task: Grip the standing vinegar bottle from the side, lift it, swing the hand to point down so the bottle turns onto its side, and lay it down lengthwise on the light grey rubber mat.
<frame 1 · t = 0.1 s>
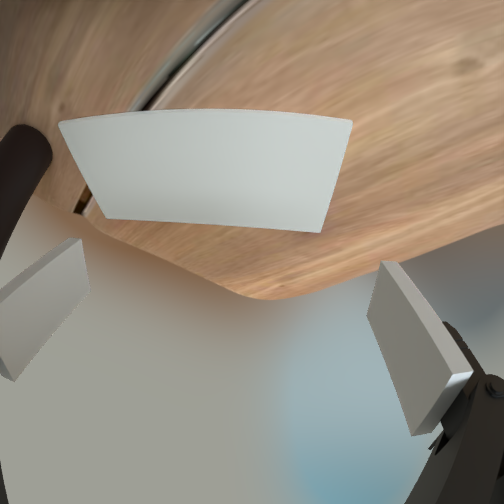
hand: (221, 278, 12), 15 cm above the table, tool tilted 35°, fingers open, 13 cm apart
mat: (197, 173, 28), on the table
vinegar: (31, 144, 25), on the table
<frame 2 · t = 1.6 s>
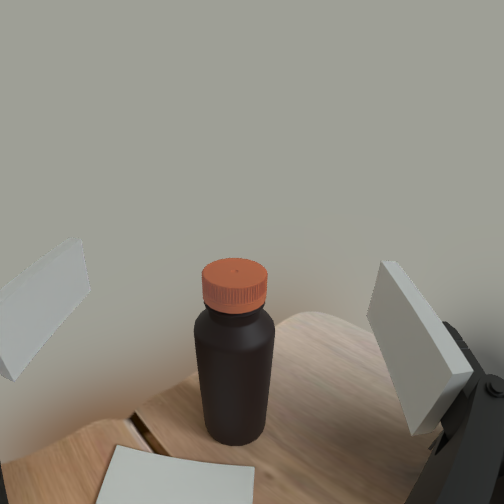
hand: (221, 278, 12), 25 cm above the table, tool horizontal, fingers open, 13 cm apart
vinegar: (235, 424, 31), on the table
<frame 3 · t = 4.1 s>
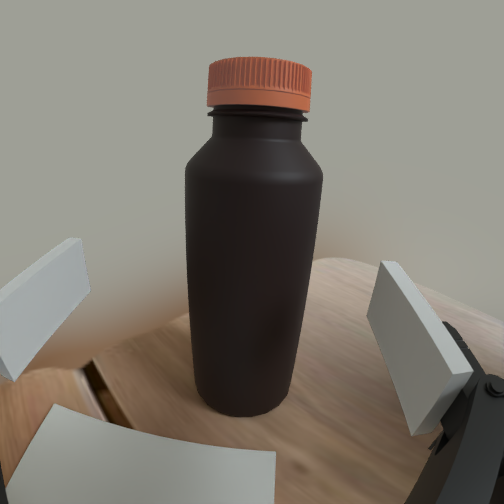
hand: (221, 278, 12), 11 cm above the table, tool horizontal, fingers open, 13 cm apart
vinegar: (242, 384, 21), on the table
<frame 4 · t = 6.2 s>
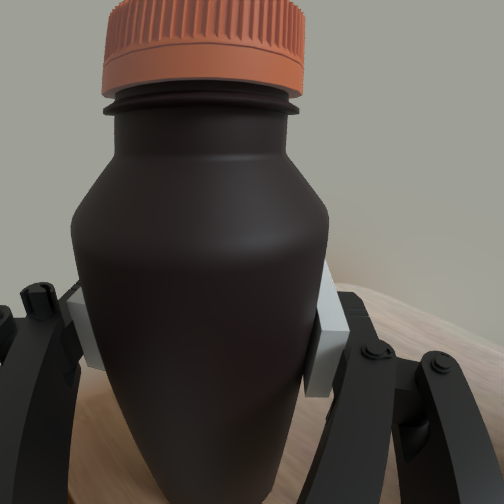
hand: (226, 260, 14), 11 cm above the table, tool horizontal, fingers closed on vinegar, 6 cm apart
vinegar: (215, 472, 14), on the table, touching gripper
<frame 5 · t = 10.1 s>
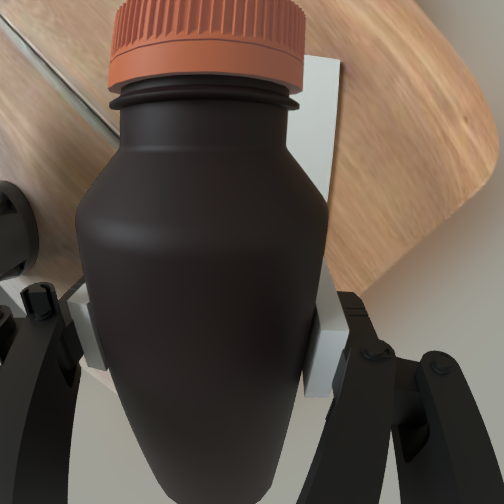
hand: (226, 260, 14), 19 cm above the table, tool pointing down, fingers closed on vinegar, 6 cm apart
mat: (256, 174, 31), on the table
vinegar: (214, 469, 14), point 24 cm above the table, touching gripper
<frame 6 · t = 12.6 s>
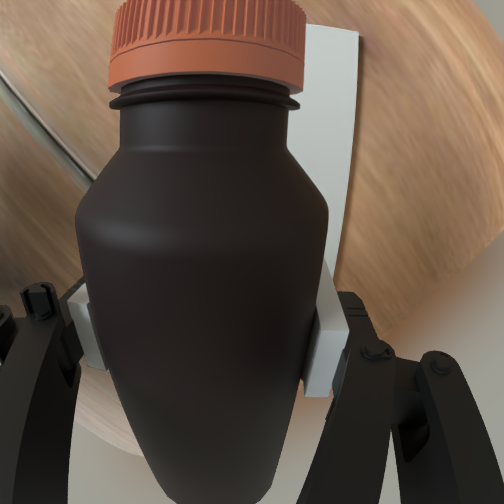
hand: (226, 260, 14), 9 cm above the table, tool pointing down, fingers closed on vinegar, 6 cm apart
mat: (241, 194, 22), on the table
vinegar: (214, 469, 14), point 14 cm above the table, touching gripper
when the fingers open (2 cm above the table, at t = 14.4 s): vinegar drops 3 cm, resting on mat.
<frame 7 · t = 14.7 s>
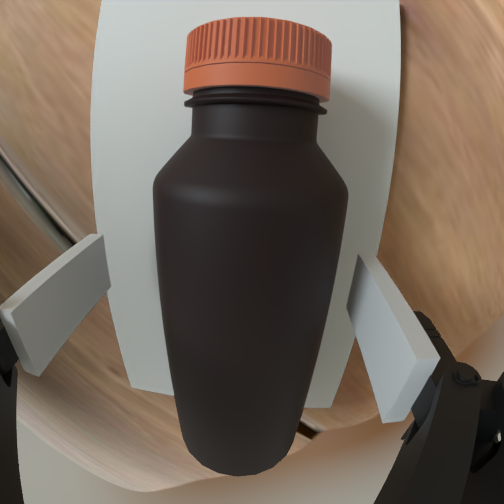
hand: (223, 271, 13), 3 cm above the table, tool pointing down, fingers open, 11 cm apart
mat: (232, 227, 15), on the table
vinegar: (238, 434, 16), point 4 cm above the table, touching mat
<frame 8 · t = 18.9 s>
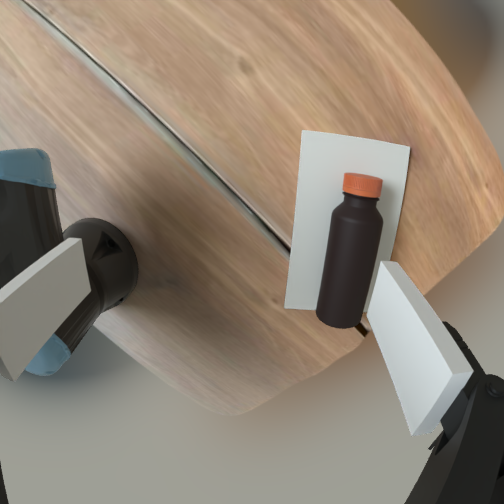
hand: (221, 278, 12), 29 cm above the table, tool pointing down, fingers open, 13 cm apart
mat: (346, 230, 41), on the table
vinegar: (337, 317, 42), point 4 cm above the table, touching mat
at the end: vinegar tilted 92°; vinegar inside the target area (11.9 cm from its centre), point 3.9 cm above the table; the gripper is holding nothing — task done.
